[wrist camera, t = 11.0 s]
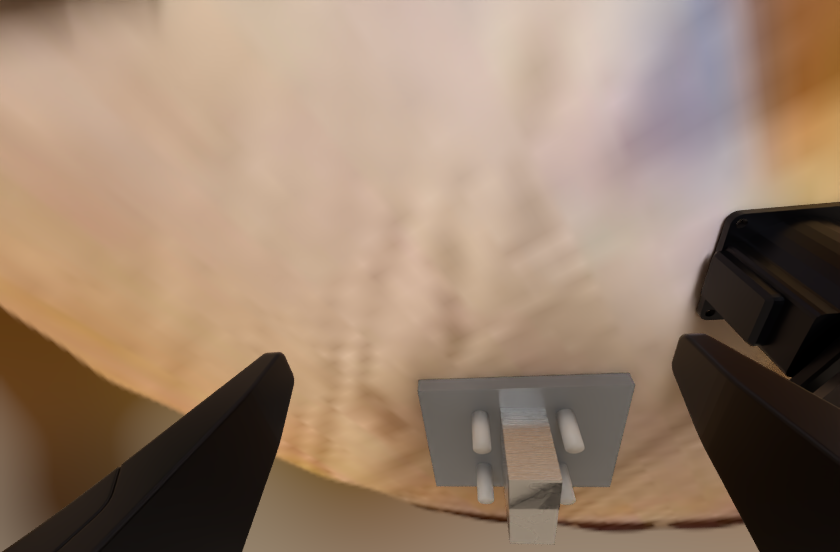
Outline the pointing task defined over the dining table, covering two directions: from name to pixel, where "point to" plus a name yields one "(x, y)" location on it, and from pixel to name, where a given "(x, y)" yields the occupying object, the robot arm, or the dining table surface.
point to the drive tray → (560, 395)
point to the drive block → (530, 476)
